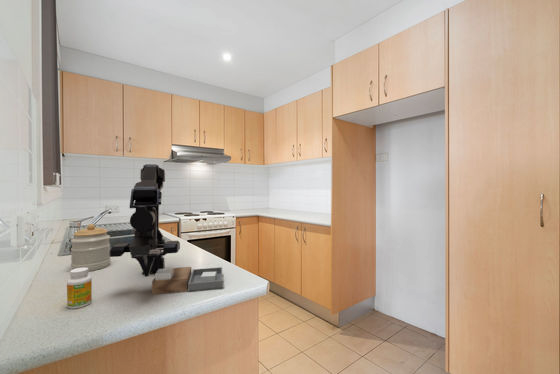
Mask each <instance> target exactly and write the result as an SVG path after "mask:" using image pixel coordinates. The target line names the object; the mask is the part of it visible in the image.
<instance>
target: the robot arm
mask: <svg viewBox="0 0 560 374" xmlns="http://www.w3.org/2000/svg"><path fill="white" fill-rule="evenodd" d="M165 172H166V171H165V169H164V168H162V167H160V166H159V164H155V163H154V164H153V163H151V164H150V163H149V164H143V167H142V168H141V169H140V179H139V180H140V181H139V182H136V183H135V184H134V186H133V188H132V189H131V191H130V200H129V209H135V211H134V212H133V213H132V215H131V216H130V219H129V224H130V227H131V228H133V230H134V235H133V238H132V240H131V242H124V243H121V242H120V243H116V244H114V245H113V246H112V247H111V246H110V251H109V254H110V258H117V257H122V256H123V255H124V254H125V253H130V258H131V259H135V260H136V261H137V262H138V264H139V265H140V268H141V270H142V273H141V274H142V275H143V276H144V277H149V276H150V275H152V274H155V273H156V272H157V271H158V269H166V268H165V257H164V256H166V255H167V254H176V253H178V252H179V251H180V249H181V243H180V241H179V240H165V239H164V235H163V233H162V232H161V230H160V224H159V223H160V206H161V205H162V195H163V193H162V189H163V188H164V183H165V182H166V173H165Z"/></svg>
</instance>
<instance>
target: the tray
mask: <svg viewBox="0 0 560 374" xmlns="http://www.w3.org/2000/svg"><path fill="white" fill-rule="evenodd" d="M216 271H217V277H216V280H215V281H208V282H201V276H202V274H203V272H216ZM223 282H224V281H223V267H222V266H221V267H220V266H219V267H210V268H209V267H207V268H206V267H205V268H195V269H194V268H193V269H191V276H190V279H189V282H188V291H187V292H188V293H191V292H201V291H202V292H203V291H213V290H222V289H223Z"/></svg>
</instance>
